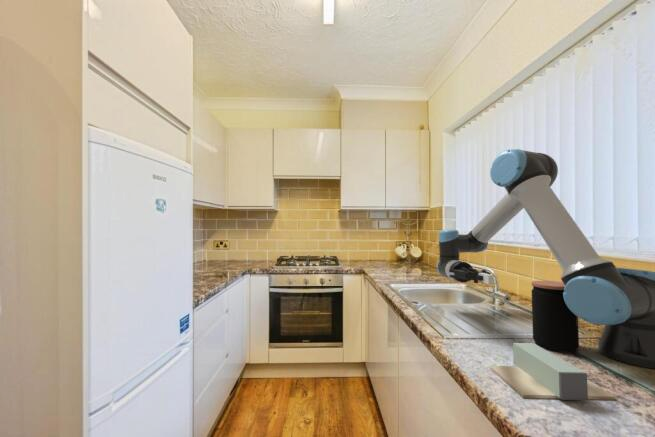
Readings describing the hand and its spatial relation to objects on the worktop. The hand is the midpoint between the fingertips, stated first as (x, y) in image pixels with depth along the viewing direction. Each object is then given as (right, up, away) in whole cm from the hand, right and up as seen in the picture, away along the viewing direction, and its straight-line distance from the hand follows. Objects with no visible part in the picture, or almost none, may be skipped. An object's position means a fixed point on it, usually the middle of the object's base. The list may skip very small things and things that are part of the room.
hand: (491, 279), depth 90 cm
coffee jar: (+17, -19, -2) cm, 26 cm away
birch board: (0, -18, -23) cm, 29 cm away
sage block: (0, -15, -15) cm, 21 cm away
